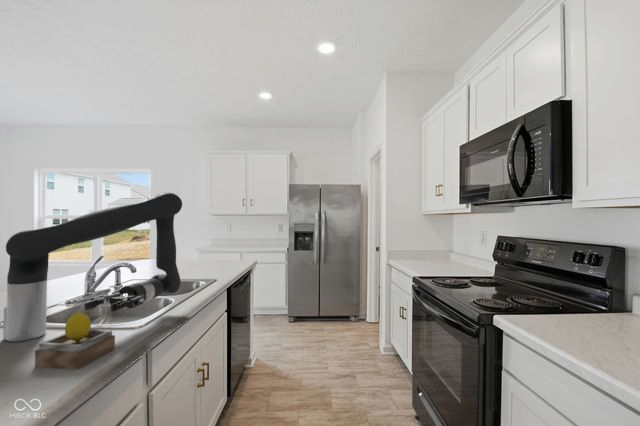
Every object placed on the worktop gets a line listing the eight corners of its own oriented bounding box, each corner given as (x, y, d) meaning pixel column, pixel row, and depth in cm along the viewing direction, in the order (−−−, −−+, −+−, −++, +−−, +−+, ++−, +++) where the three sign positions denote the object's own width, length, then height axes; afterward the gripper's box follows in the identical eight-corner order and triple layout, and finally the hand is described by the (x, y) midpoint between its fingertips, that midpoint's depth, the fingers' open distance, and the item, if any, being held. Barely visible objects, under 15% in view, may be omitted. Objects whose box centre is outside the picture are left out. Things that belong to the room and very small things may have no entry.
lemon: (59, 346, 82) (59, 315, 83) (76, 337, 88) (76, 309, 88) (79, 346, 82) (80, 315, 82) (95, 338, 88) (96, 309, 88)
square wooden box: (34, 366, 80) (35, 344, 80) (76, 346, 92) (76, 327, 92) (78, 369, 78) (78, 347, 78) (114, 349, 90) (114, 330, 90)
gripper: (118, 282, 109) (77, 293, 93) (156, 283, 107) (121, 295, 91) (117, 303, 109) (76, 319, 93) (156, 305, 107) (121, 321, 91)
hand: (98, 307), depth 92 cm, fingers open, 8 cm apart
